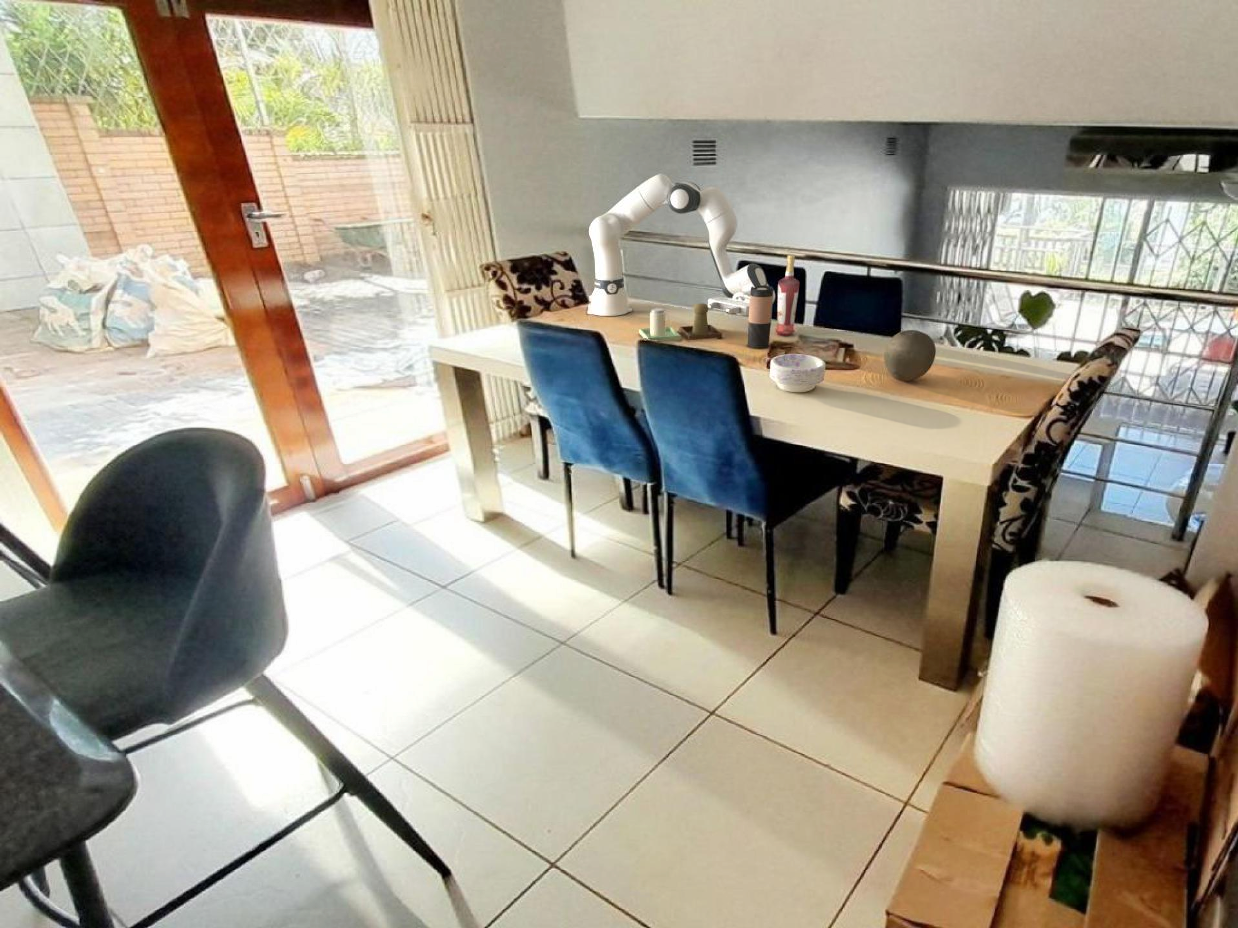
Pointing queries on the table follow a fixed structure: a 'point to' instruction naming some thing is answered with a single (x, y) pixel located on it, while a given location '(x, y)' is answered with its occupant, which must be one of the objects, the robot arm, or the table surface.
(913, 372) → the cantaloupe
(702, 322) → the olive pawn figurine
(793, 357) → the paper bowls
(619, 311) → the robot arm
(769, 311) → the travel mug
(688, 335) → the dark tray
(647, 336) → the pale tray
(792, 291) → the liquor
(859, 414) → the table surface
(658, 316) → the salt shaker
